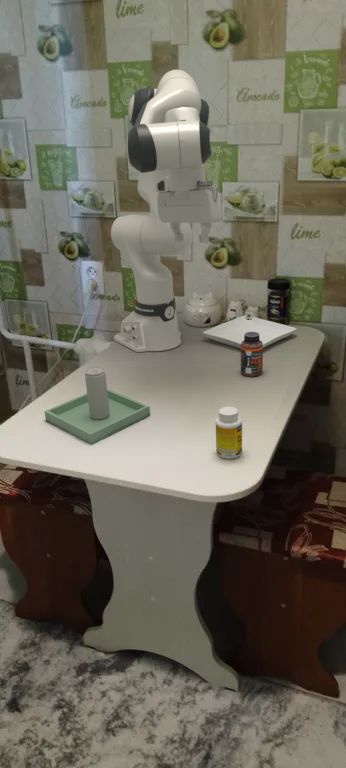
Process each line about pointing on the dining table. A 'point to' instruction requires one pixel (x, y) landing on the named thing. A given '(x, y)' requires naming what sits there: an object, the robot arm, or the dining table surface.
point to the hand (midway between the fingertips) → (191, 241)
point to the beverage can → (97, 393)
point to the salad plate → (238, 327)
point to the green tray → (83, 426)
